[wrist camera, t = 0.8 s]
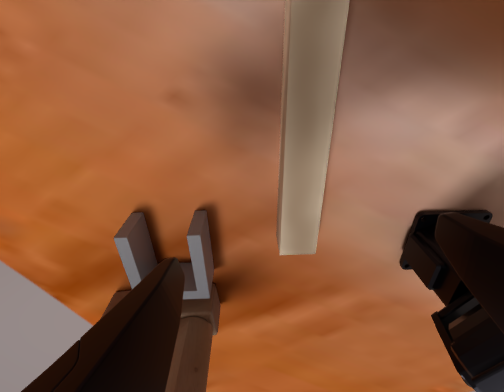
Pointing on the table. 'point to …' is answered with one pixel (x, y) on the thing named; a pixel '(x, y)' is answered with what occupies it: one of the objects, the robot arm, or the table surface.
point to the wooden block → (190, 342)
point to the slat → (307, 116)
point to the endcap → (144, 261)
